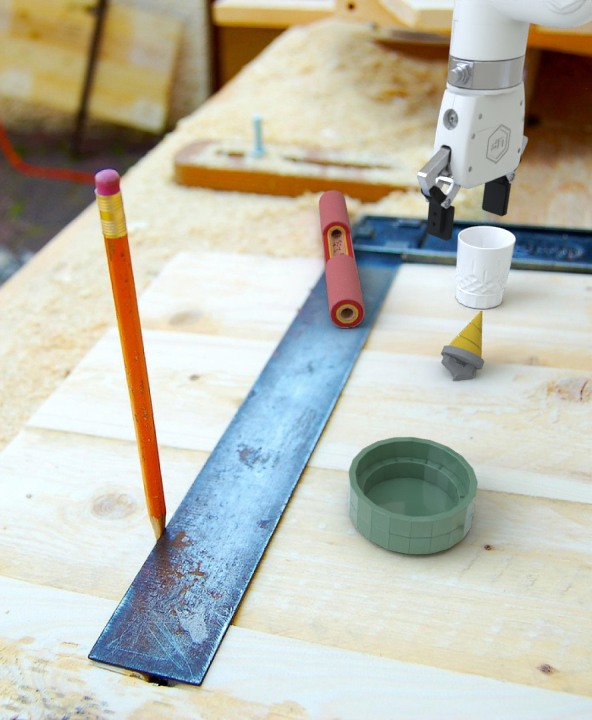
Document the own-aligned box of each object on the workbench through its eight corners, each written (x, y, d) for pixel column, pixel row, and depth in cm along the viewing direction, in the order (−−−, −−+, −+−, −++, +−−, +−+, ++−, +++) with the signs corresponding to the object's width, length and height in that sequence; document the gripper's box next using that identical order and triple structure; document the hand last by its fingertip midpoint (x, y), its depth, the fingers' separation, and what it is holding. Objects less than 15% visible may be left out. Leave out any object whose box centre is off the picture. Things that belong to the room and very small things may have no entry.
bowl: (409, 457, 86) (412, 422, 83) (498, 520, 77) (504, 483, 74) (323, 504, 81) (323, 469, 78) (408, 578, 72) (411, 541, 69)
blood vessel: (364, 328, 110) (365, 298, 107) (329, 329, 110) (329, 299, 108) (345, 214, 145) (345, 189, 142) (318, 215, 145) (318, 190, 142)
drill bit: (427, 373, 100) (455, 304, 101) (463, 390, 100) (492, 321, 101) (440, 371, 95) (471, 298, 96) (479, 388, 95) (509, 316, 96)
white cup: (472, 281, 120) (479, 221, 114) (517, 297, 114) (526, 236, 109) (440, 298, 116) (446, 237, 110) (485, 317, 110) (494, 253, 105)
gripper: (458, 95, 73) (442, 257, 83) (566, 61, 81) (540, 212, 91) (400, 82, 78) (391, 236, 88) (506, 52, 87) (488, 196, 96)
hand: (467, 224), depth 89 cm, fingers open, 9 cm apart
